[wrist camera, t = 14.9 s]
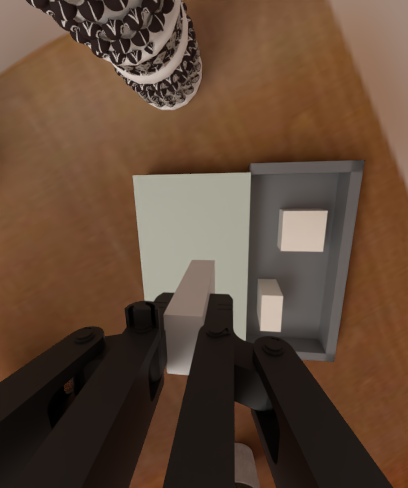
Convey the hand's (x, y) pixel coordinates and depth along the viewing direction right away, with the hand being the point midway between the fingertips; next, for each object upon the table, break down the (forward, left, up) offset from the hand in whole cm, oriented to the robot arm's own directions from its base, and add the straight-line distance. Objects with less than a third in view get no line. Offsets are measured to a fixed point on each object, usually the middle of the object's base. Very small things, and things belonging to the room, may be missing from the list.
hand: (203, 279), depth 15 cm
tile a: (-10, -6, -15) cm, 18 cm away
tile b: (0, -10, -15) cm, 18 cm away
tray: (-5, -10, -18) cm, 21 cm away
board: (-5, +3, -18) cm, 19 cm away
